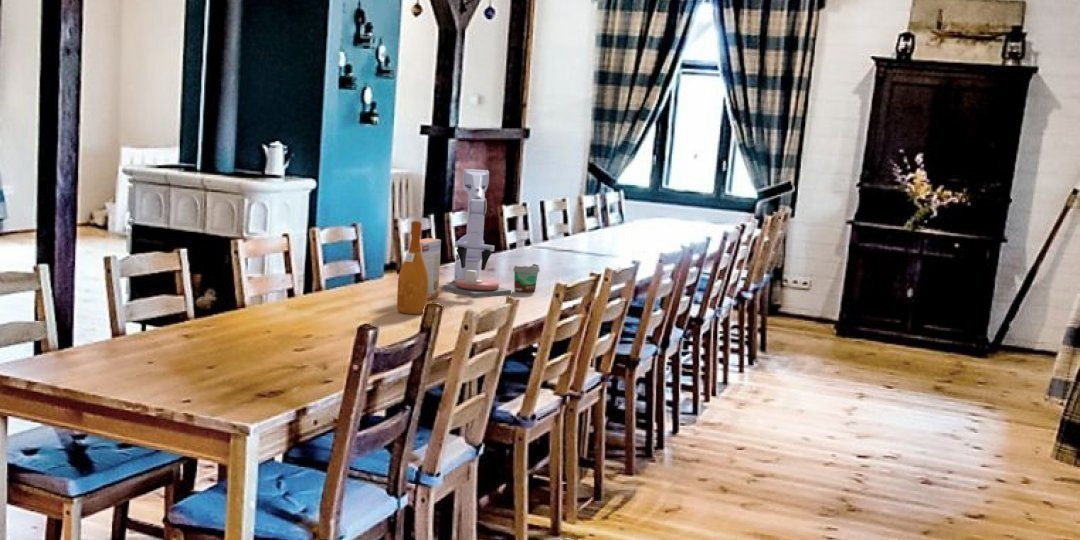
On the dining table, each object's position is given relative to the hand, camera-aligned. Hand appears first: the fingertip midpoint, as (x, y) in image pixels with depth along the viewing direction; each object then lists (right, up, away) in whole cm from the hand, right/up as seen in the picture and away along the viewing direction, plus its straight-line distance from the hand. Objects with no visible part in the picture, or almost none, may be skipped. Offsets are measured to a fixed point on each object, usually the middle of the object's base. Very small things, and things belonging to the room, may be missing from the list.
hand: (473, 268), depth 399 cm
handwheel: (+1, -6, +7) cm, 9 cm away
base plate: (+1, -8, +7) cm, 11 cm away
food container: (+20, -9, +15) cm, 26 cm away
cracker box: (-17, -11, -16) cm, 26 cm away
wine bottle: (-18, -14, -41) cm, 46 cm away
